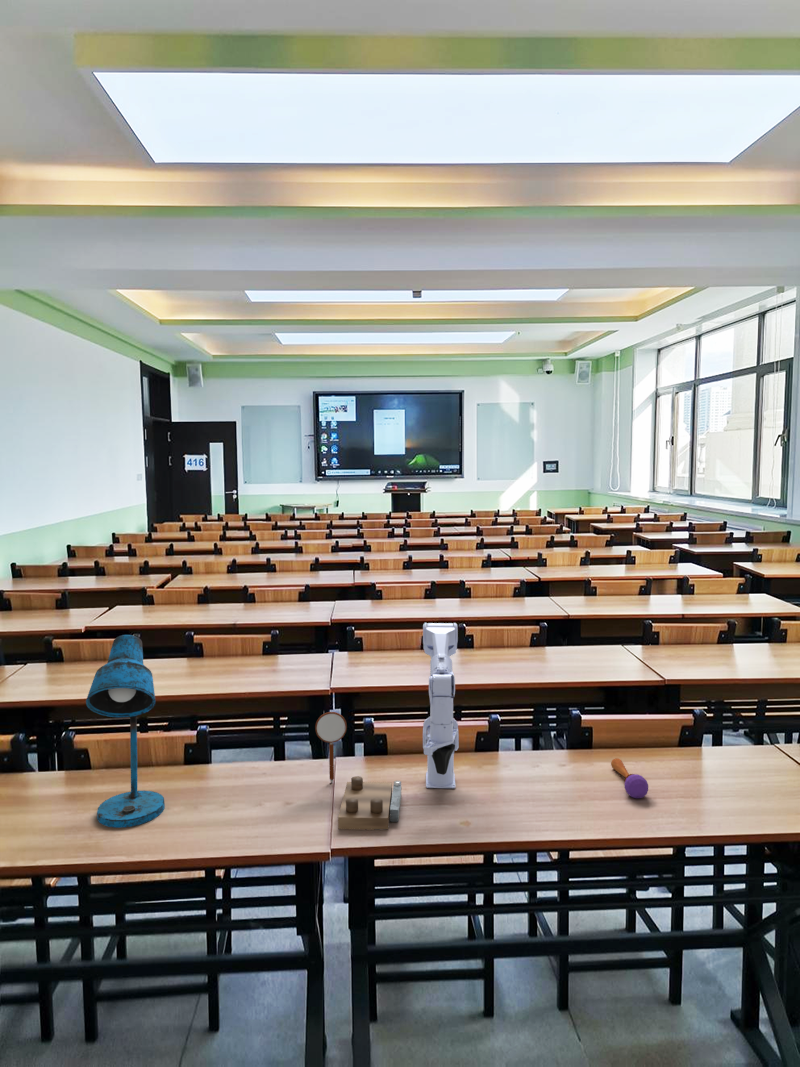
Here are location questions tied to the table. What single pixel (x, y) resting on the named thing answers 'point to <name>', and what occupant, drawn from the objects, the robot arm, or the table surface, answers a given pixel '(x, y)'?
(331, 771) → the magnifying glass
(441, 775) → the robot arm
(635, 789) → the purple mallet
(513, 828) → the table surface
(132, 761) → the desk lamp
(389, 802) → the stool seat
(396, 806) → the hinged leg
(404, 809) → the table surface
